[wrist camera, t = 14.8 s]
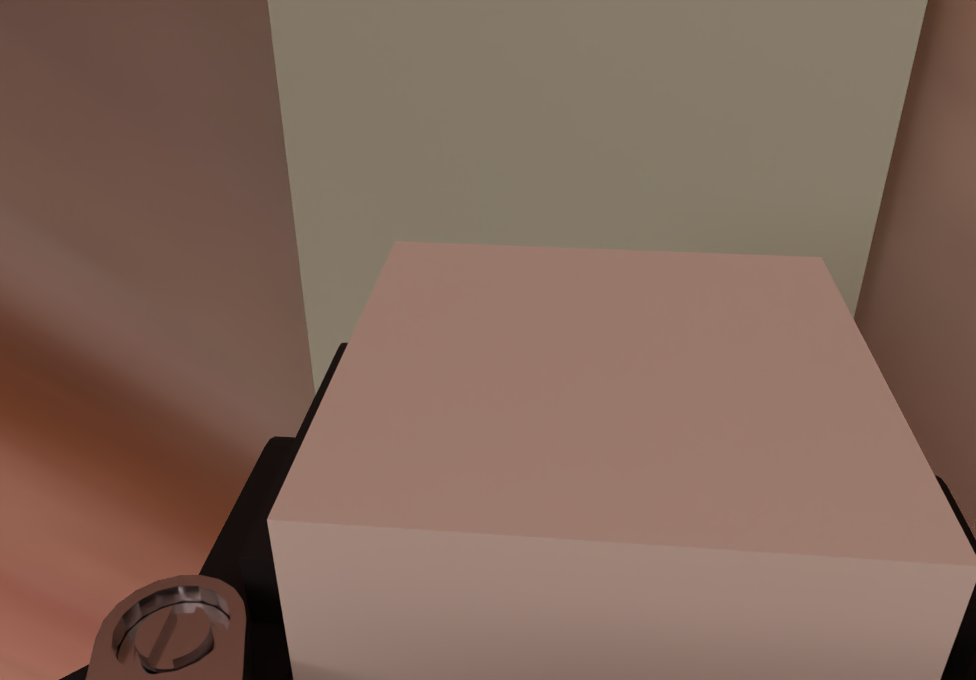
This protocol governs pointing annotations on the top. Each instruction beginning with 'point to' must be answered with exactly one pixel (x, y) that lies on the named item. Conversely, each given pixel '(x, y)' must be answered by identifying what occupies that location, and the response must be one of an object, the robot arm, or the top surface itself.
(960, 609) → the blank block
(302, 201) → the mat
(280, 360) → the top surface
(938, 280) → the top surface
